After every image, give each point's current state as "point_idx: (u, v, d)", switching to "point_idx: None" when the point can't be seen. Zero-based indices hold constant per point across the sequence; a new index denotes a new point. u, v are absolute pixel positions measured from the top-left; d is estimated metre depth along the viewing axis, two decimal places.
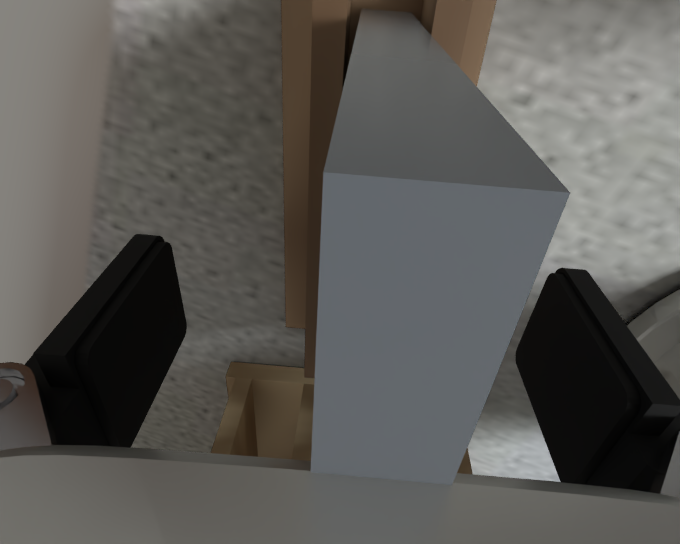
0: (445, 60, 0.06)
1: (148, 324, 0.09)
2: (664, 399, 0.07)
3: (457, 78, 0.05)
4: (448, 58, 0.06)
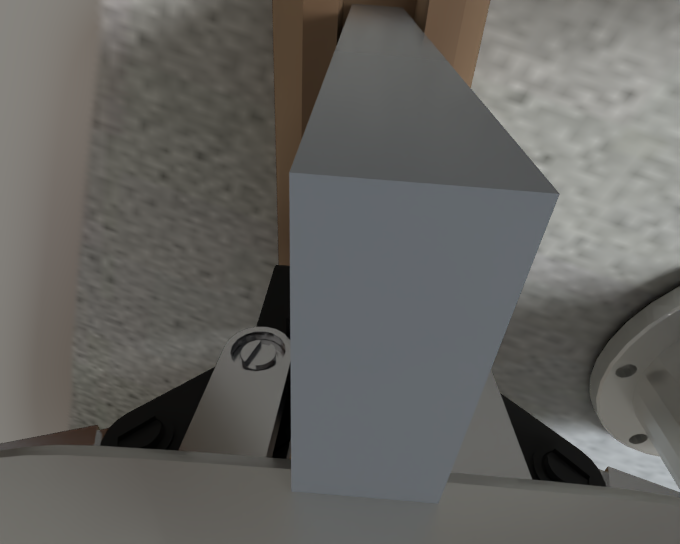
0: (433, 54, 0.06)
1: None
2: None
3: (444, 72, 0.05)
4: (437, 52, 0.06)
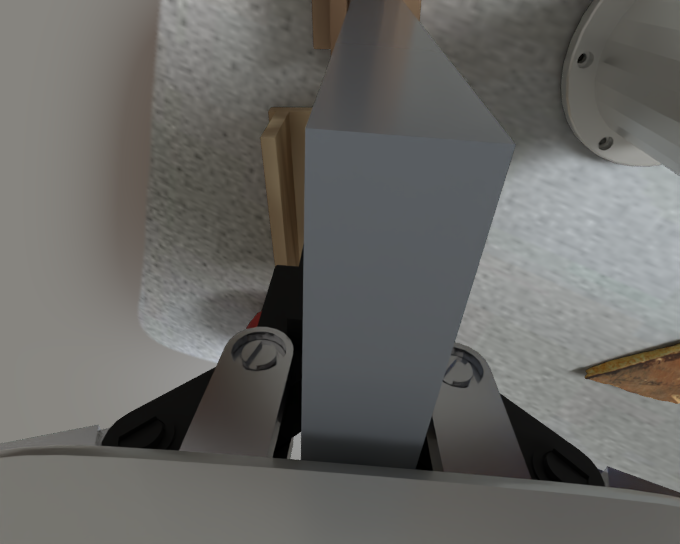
0: (427, 41, 0.06)
1: None
2: None
3: (435, 56, 0.05)
4: (430, 39, 0.06)
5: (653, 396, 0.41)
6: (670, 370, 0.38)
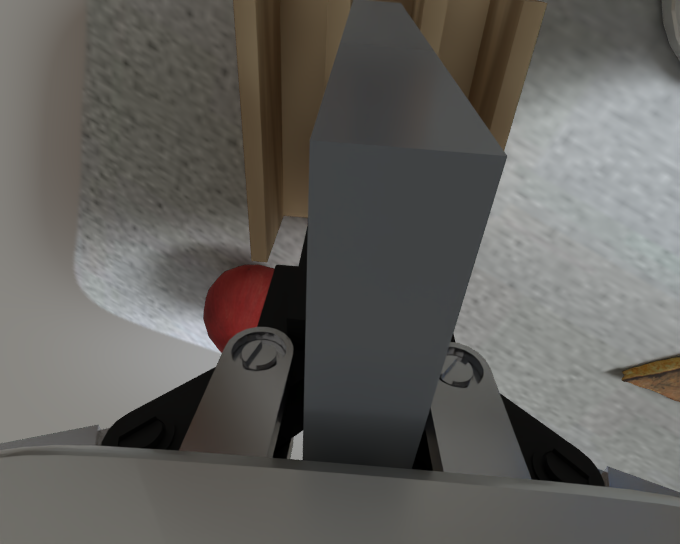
0: (425, 49, 0.06)
1: None
2: None
3: (433, 65, 0.05)
4: (428, 47, 0.07)
5: None
6: None
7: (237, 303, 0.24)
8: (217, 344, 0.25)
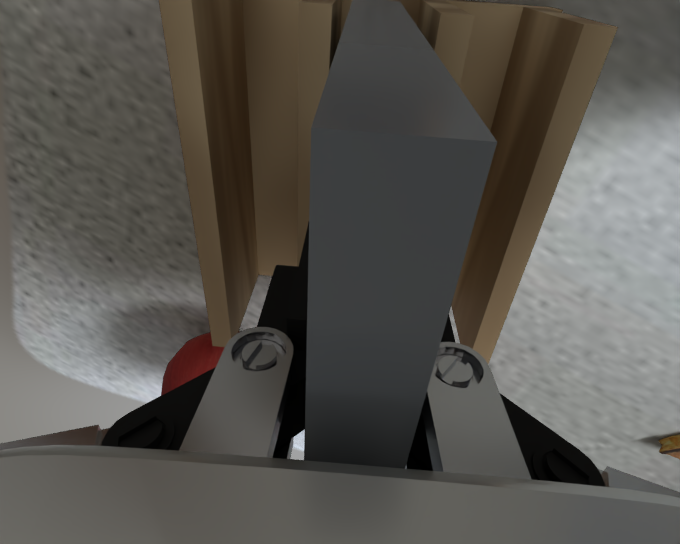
0: (423, 45, 0.07)
1: None
2: None
3: (430, 60, 0.06)
4: (426, 43, 0.07)
5: None
6: None
7: None
8: None
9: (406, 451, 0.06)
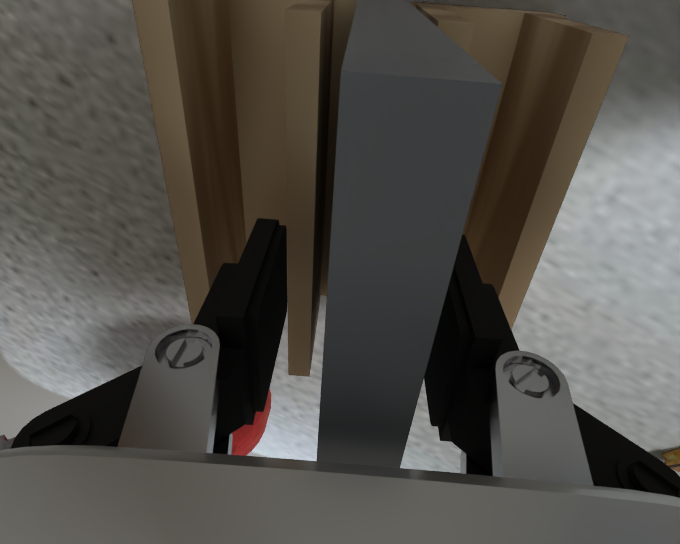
0: (430, 26, 0.07)
1: (275, 298, 0.10)
2: (488, 334, 0.08)
3: (438, 35, 0.06)
4: (432, 25, 0.07)
5: None
6: None
7: None
8: None
9: (414, 395, 0.06)
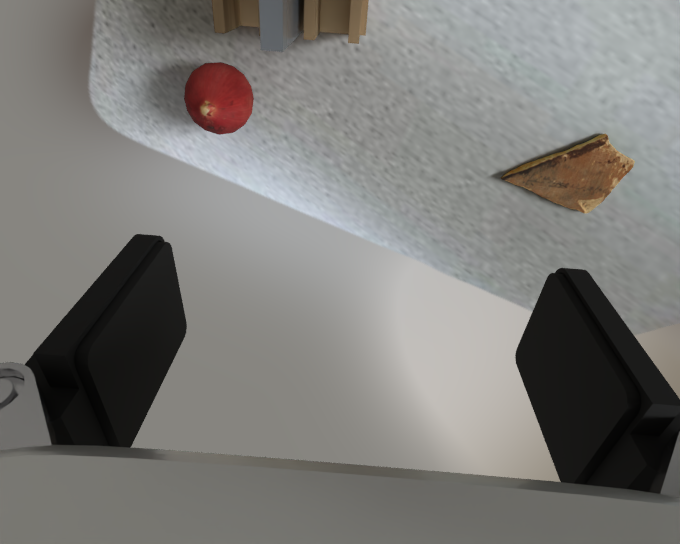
0: None
1: (148, 324, 0.09)
2: (664, 399, 0.07)
3: None
4: None
5: (562, 202, 0.45)
6: (575, 169, 0.43)
7: (207, 76, 0.35)
8: (193, 109, 0.36)
9: None
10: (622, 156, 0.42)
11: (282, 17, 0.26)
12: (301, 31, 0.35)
